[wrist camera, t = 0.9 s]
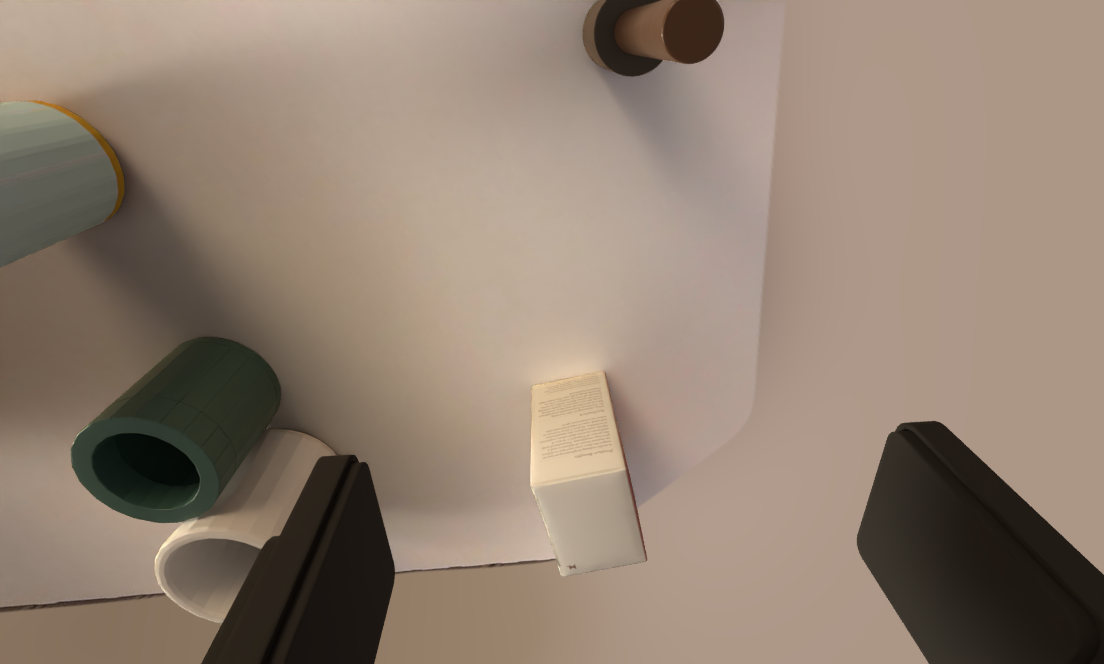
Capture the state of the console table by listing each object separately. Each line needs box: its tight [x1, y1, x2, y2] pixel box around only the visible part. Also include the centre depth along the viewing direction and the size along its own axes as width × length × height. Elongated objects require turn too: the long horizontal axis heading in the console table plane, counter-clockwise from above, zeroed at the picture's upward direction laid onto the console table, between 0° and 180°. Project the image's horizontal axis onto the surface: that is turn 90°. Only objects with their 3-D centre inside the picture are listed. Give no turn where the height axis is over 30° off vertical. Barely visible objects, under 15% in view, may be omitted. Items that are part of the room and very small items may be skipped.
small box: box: [531, 371, 647, 577], centre depth 37 cm, size 8×6×10 cm
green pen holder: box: [71, 337, 281, 523], centre depth 35 cm, size 8×8×9 cm
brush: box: [583, 0, 724, 77], centre depth 23 cm, size 4×4×16 cm
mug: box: [155, 429, 336, 623], centre depth 39 cm, size 12×9×10 cm
